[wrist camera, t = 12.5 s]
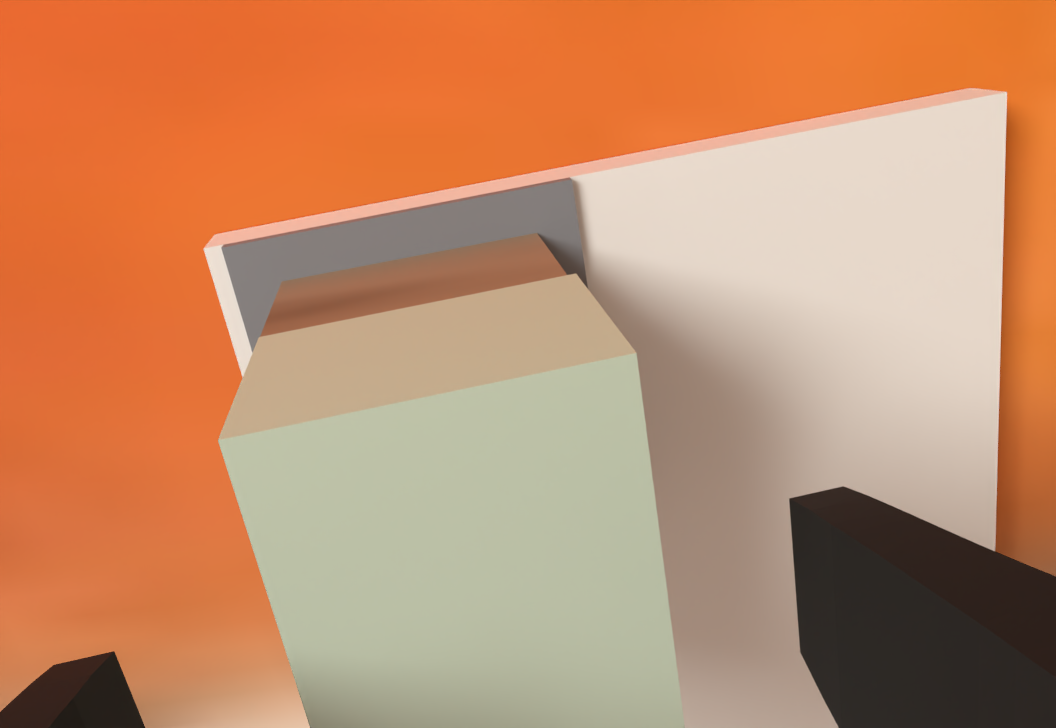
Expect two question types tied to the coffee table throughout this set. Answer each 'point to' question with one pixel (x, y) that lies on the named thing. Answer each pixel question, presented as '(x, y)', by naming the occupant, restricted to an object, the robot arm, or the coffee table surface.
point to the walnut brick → (410, 282)
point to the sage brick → (459, 515)
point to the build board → (749, 342)
